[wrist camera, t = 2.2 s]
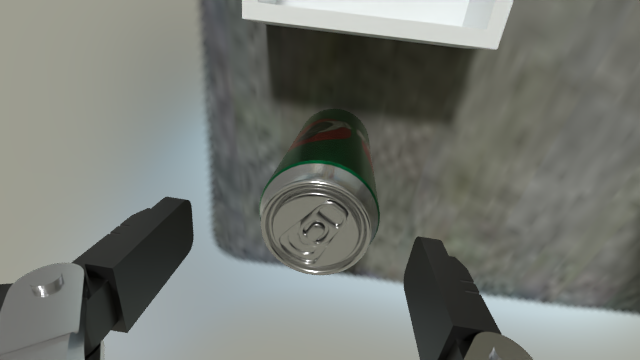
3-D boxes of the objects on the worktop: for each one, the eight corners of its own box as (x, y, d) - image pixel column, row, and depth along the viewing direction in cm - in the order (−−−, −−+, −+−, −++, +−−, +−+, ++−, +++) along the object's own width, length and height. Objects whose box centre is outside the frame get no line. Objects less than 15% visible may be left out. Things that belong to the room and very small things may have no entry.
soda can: (288, 145, 23) (227, 236, 12) (328, 92, 21) (300, 143, 10) (339, 184, 24) (326, 301, 13) (382, 136, 22) (411, 227, 11)
